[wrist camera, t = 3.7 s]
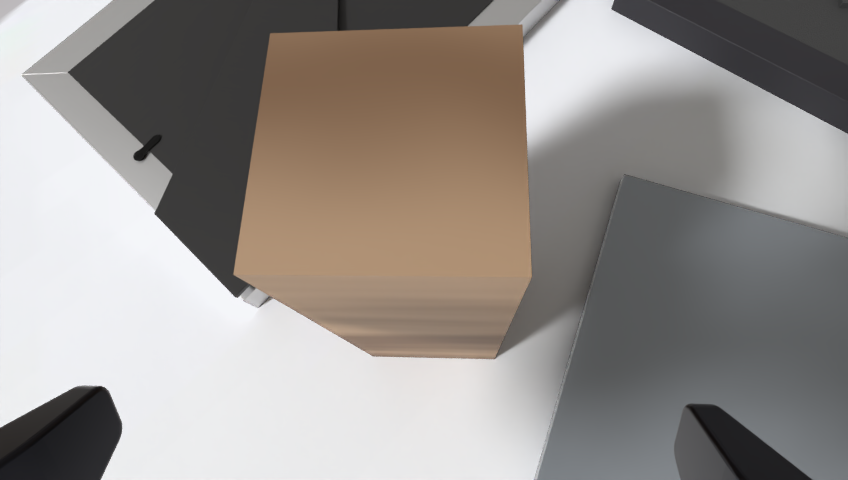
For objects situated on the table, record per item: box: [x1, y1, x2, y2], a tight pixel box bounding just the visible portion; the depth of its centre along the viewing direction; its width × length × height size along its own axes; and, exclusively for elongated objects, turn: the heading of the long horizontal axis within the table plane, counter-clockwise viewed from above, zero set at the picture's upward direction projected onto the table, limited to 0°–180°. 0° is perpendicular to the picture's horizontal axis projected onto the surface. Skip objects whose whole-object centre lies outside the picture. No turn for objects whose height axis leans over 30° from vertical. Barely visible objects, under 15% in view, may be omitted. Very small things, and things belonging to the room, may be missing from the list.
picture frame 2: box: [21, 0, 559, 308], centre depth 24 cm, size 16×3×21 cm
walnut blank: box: [233, 24, 532, 359], centre depth 14 cm, size 4×4×12 cm
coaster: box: [534, 174, 848, 480], centre depth 17 cm, size 12×12×1 cm
